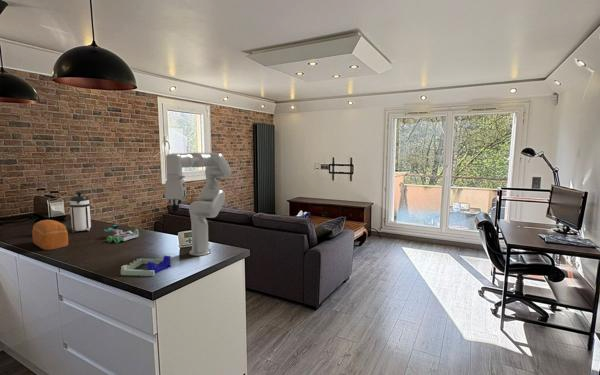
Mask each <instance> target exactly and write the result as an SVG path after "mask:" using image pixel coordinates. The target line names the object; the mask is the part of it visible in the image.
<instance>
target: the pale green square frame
mask: <svg viewBox="0 0 600 375" xmlns="http://www.w3.org/2000/svg"><path fill="white" fill-rule="evenodd" d="M163 259H164V258H136V260H133V262H129V264H124V265H121V268H120V275H121V276H135V277H137V276H138V275H139V276H138V277H140V276H141V277H154V276H156V273H155V270H148V269H136V268H137V267H139V266H141V265H142V264H143V265H147V263H148V262H154V265H158V264H159V263H160V262H162V261H163Z"/></svg>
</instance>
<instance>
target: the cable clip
mask: <svg viewBox="0 0 600 375" xmlns="http://www.w3.org/2000/svg"><path fill="white" fill-rule="evenodd" d="M162 259H163V261H162V262H160V263H159V264H154V262H148V263H147V264H146V266H147V270H155V274H157V273H160V272H162V271H164V270H167V269H169V268H171V267H172V266H171V256H170V255H164V256H163V258H162Z"/></svg>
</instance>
